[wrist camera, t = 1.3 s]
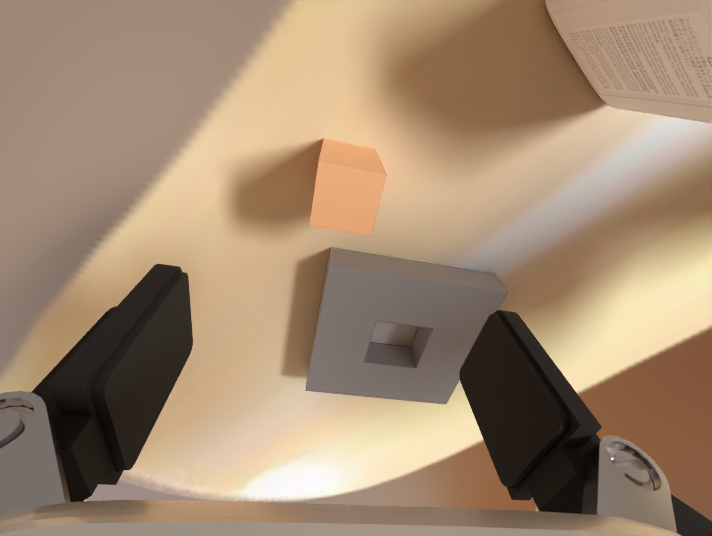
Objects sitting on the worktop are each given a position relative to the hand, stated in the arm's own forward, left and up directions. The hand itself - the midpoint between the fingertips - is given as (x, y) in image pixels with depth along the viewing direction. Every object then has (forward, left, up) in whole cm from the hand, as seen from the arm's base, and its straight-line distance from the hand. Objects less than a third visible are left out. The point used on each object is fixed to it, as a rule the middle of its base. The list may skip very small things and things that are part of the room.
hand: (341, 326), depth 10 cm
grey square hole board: (-8, +15, -18) cm, 25 cm away
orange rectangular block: (0, 0, -18) cm, 18 cm away
